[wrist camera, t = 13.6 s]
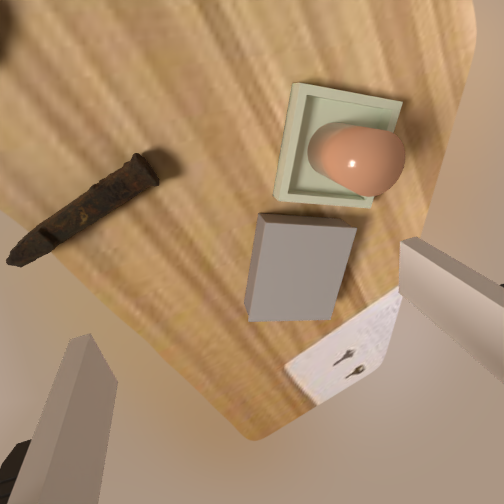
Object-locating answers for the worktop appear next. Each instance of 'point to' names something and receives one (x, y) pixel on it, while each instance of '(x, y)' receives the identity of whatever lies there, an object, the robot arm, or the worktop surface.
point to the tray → (307, 123)
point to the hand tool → (85, 210)
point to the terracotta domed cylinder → (357, 157)
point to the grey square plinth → (296, 267)
